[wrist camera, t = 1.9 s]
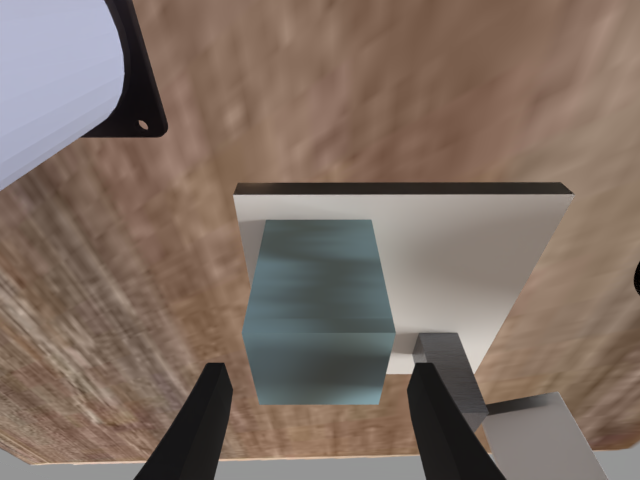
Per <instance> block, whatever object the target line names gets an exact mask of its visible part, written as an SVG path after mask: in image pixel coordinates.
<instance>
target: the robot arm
mask: <svg viewBox="0 0 640 480" xmlns="http://www.w3.org/2000/svg"><path fill="white" fill-rule="evenodd" d="M139 120H140V121H143V122H145V123H146V125H147V126H148V129H144V128H142V127H141V126H140V124H139ZM167 130H168V122H167V119H166V115H165V112H164V108H163V105H162V101H161V98H160V94H159V91H158V88H157V84H156V81H155V77H154V74H153V70H152V67H151V63H150V60H149V56H148V53H147V50H146V46H145V43H144V39H143V36H142V32H141V29H140V25H139V22H138V19H137V15H136V12H135V8H134V5H133V1H132V0H0V191H1V190H3V189H4V188H5V187H7V186H8V185H10V184H11V183H13V182H14V181H16V180H17V179H19V178H20V177H22V176H23V175H25V174H26V173H28V172H29V171H31V170H32V169H34V168H35V167H37V166H38V165H40V164H41V163H42V162H44V161H45V160H47V159H48V158H50V157H51V156H53V155H54V154H56V153H57V152H59V151H60V150H62V149H63V148H65V147H66V146H68V145H69V144H71V143H72V142H74V141H75V140H77V139H78V138H158V137H162V136H163V135H164V134H165V133H166V132H167ZM232 395H233V387H232V384H231V381H230V378H229V375H228V372H227V369H226V366H225V363H207V364H206V365H205V367H204V369H203V371H202V373H201V375H200V376H199V378H198V380H197V382H196V384H195V386H194V387H193V389H192V391H191V393H190V394H189V396H188V398H187V400H186V401H185V403H184V405H183V406H182V408H181V410H180V411H179V413H178V415H177V416H176V418H175V419H174V421H173V423H172V424H171V426H170V427H169V429H168V431H167V432H166V434H165V435H164V437H163V438H162V439H161V441H160V442H159V444H158V445H157V447H156V448H155V450H154V451H153V453H152V454H151V456H150V457H149V459H148V460H147V461H146V463H145V464H144V466H143V467H142V468H141V470H140V471H139V472H138V474H137V475H136V476H135V478H134V479H133V480H214V477H215V473H216V469H217V465H218V461H219V457H220V453H221V449H222V445H223V442H224V437H225V433H226V429H227V425H228V421H229V416H230V410H231V403H232ZM407 395H408V403H409V409H410V416H411V421H412V425H413V429H414V433H415V437H416V441H417V445H418V449H419V453H420V457H421V461H422V465H423V469H424V473H425V477H426V480H507V479H506V478H505V477H504V475H503V474H502V473H501V471H500V470H499V468H498V467H497V466H496V464H495V463H494V462H493V460H492V459H491V457H490V456H489V454H488V453H487V452H486V450H485V449H484V447H483V446H482V444H481V443H480V441H479V440H478V438H477V437H476V435H475V434H474V432H473V431H472V429H471V427H470V426H469V424H468V423H467V421H466V420H465V418H464V416H463V415H462V413H461V412H460V410H459V408H458V407H457V405H456V403H455V402H454V400H453V398H452V396H451V395H450V393H449V391H448V389H447V388H446V386H445V384H444V382H443V380H442V378H441V377H440V375H439V373H438V371H437V369H436V367H435V365H434V364H433V363H415V366H414V369H413V372H412V375H411V378H410V381H409V384H408V387H407Z"/></svg>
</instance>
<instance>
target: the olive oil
mask: <svg viewBox="0 0 640 480" xmlns="http://www.w3.org/2000/svg"><path fill="white" fill-rule="evenodd" d="M634 287H635V290H636V291H637V293H638V294H639V296H640V261H639V263H638V265H637V268H636V270H635V274H634Z"/></svg>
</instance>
